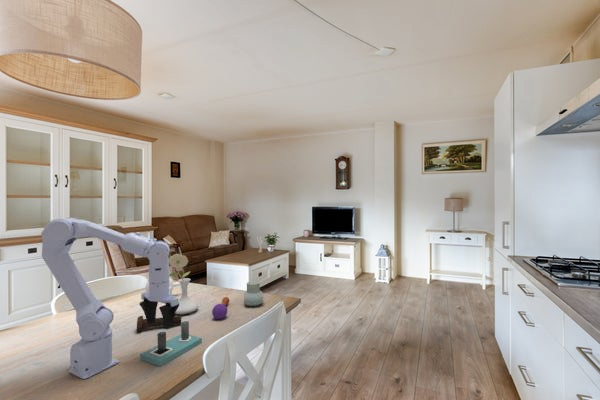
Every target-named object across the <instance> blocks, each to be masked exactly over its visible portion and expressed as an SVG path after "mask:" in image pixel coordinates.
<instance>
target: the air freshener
mask: <svg viewBox="0 0 600 400" xmlns="http://www.w3.org/2000/svg"><path fill="white" fill-rule="evenodd" d="M260 289H261V284H260V281H257V280H249V281H247V282H246V291H245V292H243V298H244V299H243V300H244V301H243V303H244V305H245V306H247V307H248V306H249V307H255V306H256V307H257V306H260V305H262V304H263V302H264V294H263V291H262V290H260Z"/></svg>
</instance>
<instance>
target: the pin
mask: <svg viewBox="0 0 600 400" xmlns="http://www.w3.org/2000/svg"><path fill="white" fill-rule="evenodd" d="M166 341H167V331H160V332H158V333H157V345H158V354H159V355H161V354H163V353H165V352H166Z"/></svg>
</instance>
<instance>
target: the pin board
mask: <svg viewBox="0 0 600 400" xmlns="http://www.w3.org/2000/svg"><path fill="white" fill-rule="evenodd" d="M180 326H181V327H180V329H181V330H180V333H179V334H178V335H176V336H174V337H171V338H170V339H168V340H167V339H166V352H165V353H163V354H161V355H159V354H158V344H157V345H156V346H153V347H151V348H149V349H147V350H146V351H143V352H141V353H139V359H140V360H141V361H144V362H147V363H148V364H149V363H150V364H153V365H154V366H157V367H162V366H164V365H165V364H167V363H169V362H171V361H173V360H174V359H176V358H178V357H180V356H181V355H183V354H184V353H186V352H188V351H190V350H191V349H193V348H195V347H197V346H198V345H200V344H202V342H203V338H202V337H198V336H195V335H193V334H190V329H189V328H190V322H189V321H188V320H186V321H181V323H180Z"/></svg>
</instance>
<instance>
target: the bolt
mask: <svg viewBox="0 0 600 400" xmlns="http://www.w3.org/2000/svg"><path fill="white" fill-rule="evenodd" d="M182 316H183V315H174V318H173V322H172V326H176V325H181V323H182ZM157 327H164V326H163V317H156V319H155V322H154V323H151V324H148V323H147V320H146V318H144V315H139V316H138V317H137V319H136V332H137V333H142V332H143V330H145V329H149V328H157Z"/></svg>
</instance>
